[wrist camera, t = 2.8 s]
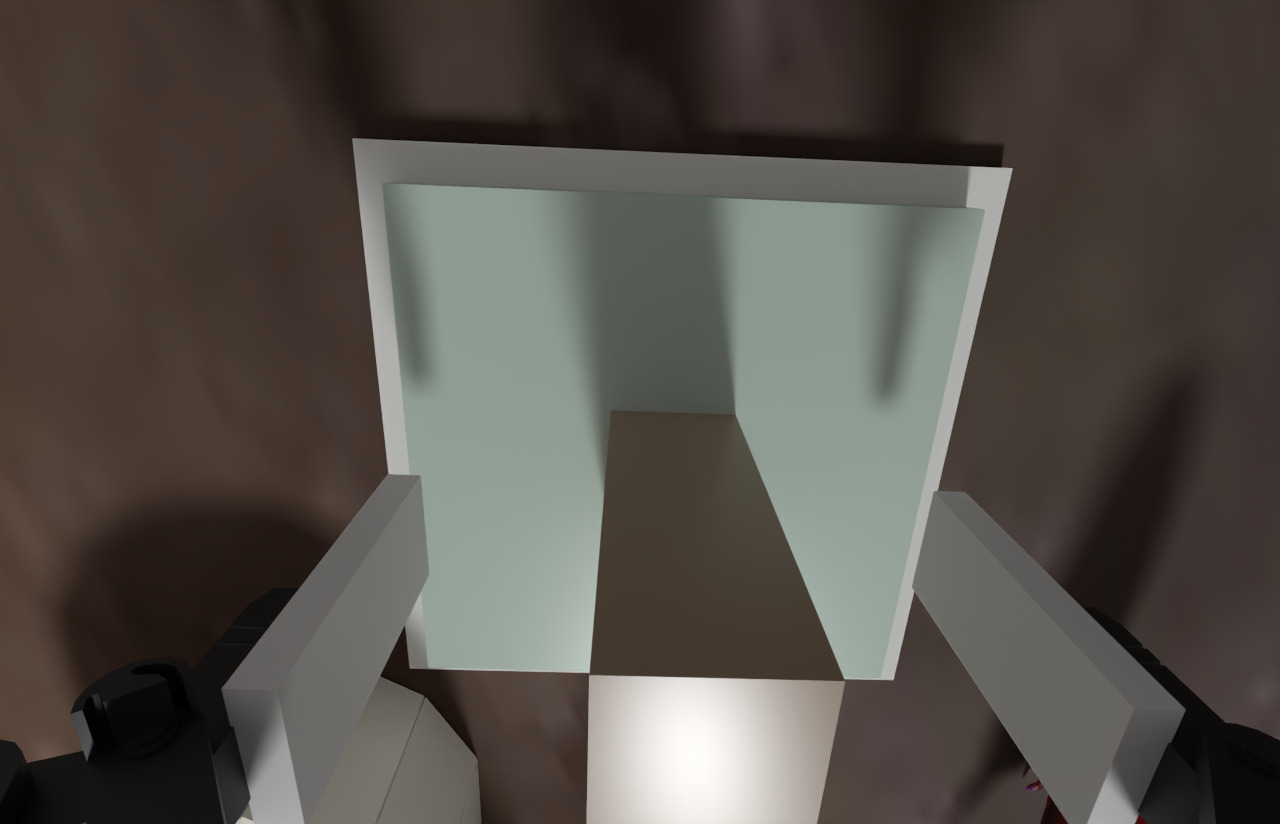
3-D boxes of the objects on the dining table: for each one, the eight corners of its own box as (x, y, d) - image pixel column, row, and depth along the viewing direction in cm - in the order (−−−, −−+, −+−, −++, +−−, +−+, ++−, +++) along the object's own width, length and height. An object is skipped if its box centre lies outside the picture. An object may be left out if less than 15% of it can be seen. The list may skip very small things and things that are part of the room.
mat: (1002, 168, 17) (1012, 168, 17) (888, 670, 23) (893, 680, 23) (359, 138, 17) (352, 138, 16) (414, 658, 23) (409, 668, 23)
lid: (965, 206, 17) (1459, 275, 7) (870, 656, 23) (1068, 1068, 12) (395, 182, 17) (28, 215, 7) (436, 646, 22) (270, 1062, 12)
